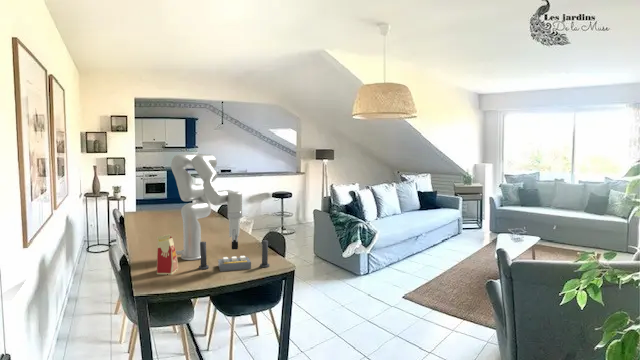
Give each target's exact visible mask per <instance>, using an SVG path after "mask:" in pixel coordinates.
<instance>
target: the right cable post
mask: <svg viewBox="0 0 640 360" xmlns="http://www.w3.org/2000/svg"><path fill="white" fill-rule="evenodd" d="M261 248H262V249H261V263H260V264H259V268H264V269H265V268H269V267H270V263H268V262H269V261H268V259H269V258H268V255H269V254H268V253H269V249H268V248H269V241H268V240H265V239H263V240H262V241H261Z"/></svg>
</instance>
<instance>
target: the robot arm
mask: <svg viewBox="0 0 640 360" xmlns="http://www.w3.org/2000/svg"><path fill="white" fill-rule="evenodd" d="M170 163H171V164H170V167H171V171H172V174H173V176H174V179H175V182H176V186H177V189H178V194H179V197H180V199H181V201H183V202H189V203H185V205H183V206H182V207H181V210H180V212H181V213H180V214H181V218H182V227H183V228H182V229H183V230H182V231H183V249H181V250H176V255H180V259H181V260H184V261H196V260H201V259H200V242H202V237H201V236H202V234H201V233H202V228H201V227H202V226H201V223H200V221H199V219H203V218H207V217H208V216H210V215H211V211H212V208H211V207H212V206H222V205H227V219H229V220H228V222H229V224H228V226H229V227H228V238H231V250H238V249H239V239H238V238H239V235H240V227H241V224H240V222H241V221H240V220H241V219H242V218H243V193H242V192H240V191H233V190H230V189H225V190H216V189H215V187H214V186H213V184H212V183H214V182H215V181H216V179H217V177H218V173H217V171H216V169H215V168H216V167H217V163H218V162H217V159H216V157H215V156H214V155H212V154H206V153H178V154H176V155H174V156H173V158H172V159H171V162H170ZM186 169H194V170H195V171H196V173H197V174H198V176H199V177H200V179H201V180H202V182H203V183H202V184H201V183H193V179H192V176H191V174H190V173H189V172H188V171H187V170H186ZM193 201H195V202H193ZM211 205H212V206H211Z"/></svg>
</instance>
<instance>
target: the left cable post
mask: <svg viewBox="0 0 640 360" xmlns="http://www.w3.org/2000/svg"><path fill="white" fill-rule="evenodd" d="M199 260H200V265H199V266H198V269H199V270H202V271H203V270H204V269H205V270H208V269H209V265H208V264H207V242H206V241H201V242H200V259H199Z"/></svg>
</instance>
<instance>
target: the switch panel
mask: <svg viewBox="0 0 640 360" xmlns="http://www.w3.org/2000/svg"><path fill="white" fill-rule="evenodd" d="M217 264H218V265H217V266H218V268H219V269H218V270H219V272H230V271H243V270H251V269H252V261H251V260H250V258H249V257H248V256H245V255H240V256H239V257H237V256H236V255H235V256H231V258H229V257H228V256H223V257H222V258H220V259H217Z"/></svg>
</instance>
